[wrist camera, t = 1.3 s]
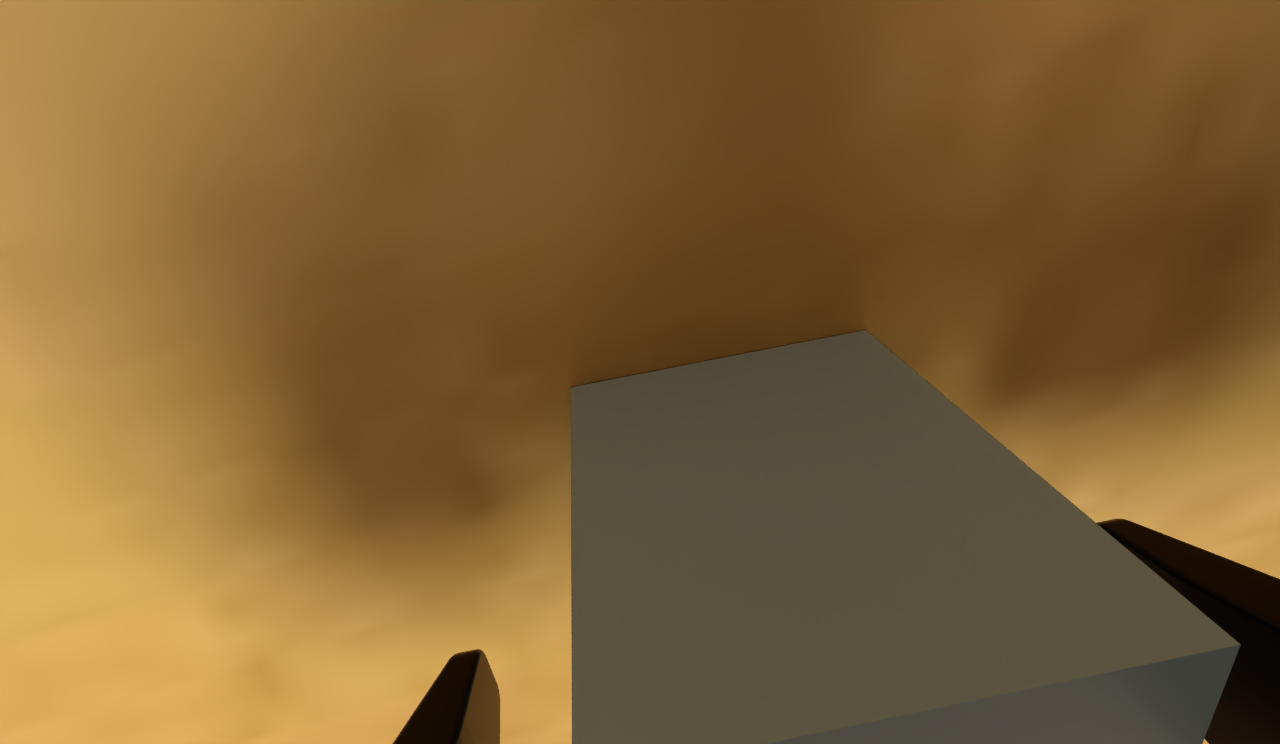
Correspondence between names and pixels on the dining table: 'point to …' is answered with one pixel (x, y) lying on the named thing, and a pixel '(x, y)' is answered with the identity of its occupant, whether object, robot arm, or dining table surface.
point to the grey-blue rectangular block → (853, 571)
